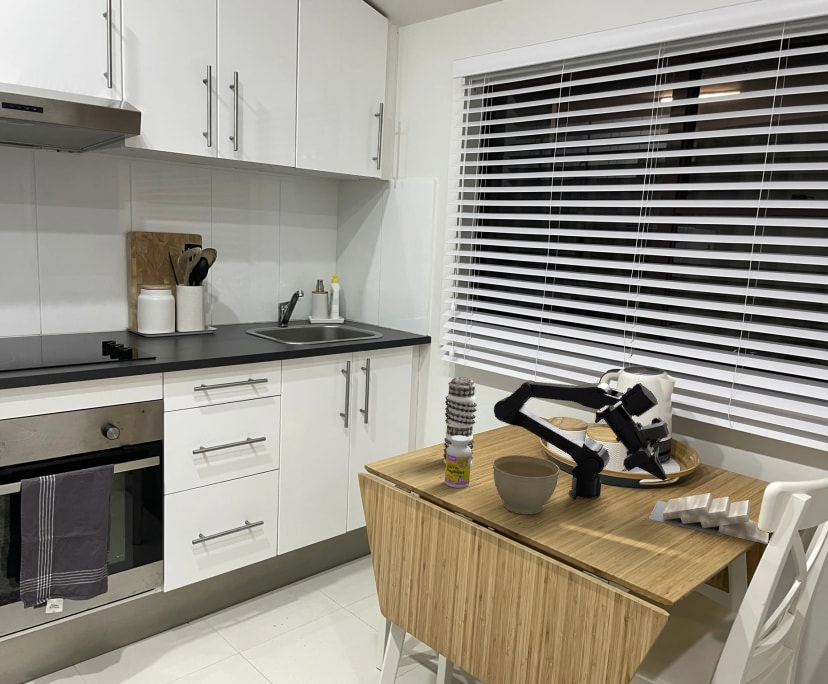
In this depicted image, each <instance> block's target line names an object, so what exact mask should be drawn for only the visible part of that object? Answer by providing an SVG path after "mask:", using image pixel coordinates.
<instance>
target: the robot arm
mask: <svg viewBox="0 0 828 684" xmlns="http://www.w3.org/2000/svg"><path fill="white" fill-rule="evenodd" d="M531 398H536V399H544V400H545V399H547V400H556V401H565V402H572V403H575V404H577V405H580V406H583V407H586V408H590V409H593V410H596V412H595V419H594V423H596V424H598V423H600V422H601V421H602V420H603V421H604V422H605V423H606V425H607V426H608V428H609V429H610V430H611V431H612V432H613V434H614V435H615V437H616V438H615V441H616V442H617V443H619V442H621V444H622V445H623V446H624V447H625V449H626V450H627V451H626V456H625V458H624V459H623V465H622V466H624V468H625V469H626V470H627V472H630V471H632V470H634V469H635V468H639V469H640V470H643V471H644V472H647V473H648V474H651V476H652V475H653V476H654V477H655V478H658V479H659V480H661V481H666V480H667V478H668V476H667V474H666V471H665V469H664V467H663V466H662V463H661V461H660V458H659V451H660V446H659V445H658V446H657V447H655V448H654V447H653V446H654V445H655V444H656V443H660V442H661V441H662V440H663V439H666V438H668V436H669V435H670V432H669V431H670V430H669V428H668V425H669V424H668V423H667V422H666V421H665V420H662V418H661V417H660V416H658V417H654V418H652V420H651V423H649V424H647V425H643V424H642V423H641V422H639V421H637V422H636V421H635V420H634V419H633V417H637V418H639V417H641V416H643V415H644V414H645V413H647V412H648V411H650V410H651V409H653V408H654V407H656V406H657V405H658V404H659V403H658V399H657V397H656V396H655V394H654V393H653V392H652V390H650V389H648V388H647V387H646V386H645V385H643V383H642V382H641V381H638V382H637V383H636V384H635V385H633V386H632V387H631V388H630V389H628V390H627V391H626V392H624V391H621V390H618V389H614V388H612V387H611V386H610V385H609V384H608V383H606V382H592V383H585V384H577V385H576V384H564V383H554V382H552V383H551V382H542V381H535V380H530V379H529V380H527V381H525V382H523V383H522V384H521V385H520V386H519V387H518V388H517V389H516V390H515V391H514V392H512V393H511V394H510V395H509V396H506V397H504V398H502V399H500V400H499V401H497V402H496V403H494V405H493V406H494V407H493V414H494V418H495V419H497V420H498V421H500V422H502V423H505V424H507V425H511V426H515V427H519V428H523V429H525V430H526V431H528V432H530V433H532V434H534V435H535V436H537V437H538V438H540V439H542V440H543V441H545V442H547V443H549V444H550V445H552V446H553V447H555V448H557V449H559V450H560V451H562V452H563V453H565V454H567V455H568V456H570V458H571V459H572V461H574V463H576V464H575V465H574V466H573V468H572V469H571V473H572V479H571V489H570V490H568V493H569V494H570V496H571V497H572V498H573V499H574V500H577V498H578V497H579V498H583V499H594V498H596V497H601V492H602V481H601V476H600V475H599V474H600V473H602V472H603V470H604V469H605V468H606V467H607V466H608V465H609V463H610V460H611V459H610V454H609V451H608V449H606V448H605V447H604V446H605V445H604V444H602V443H599V442H597V441H596V440H594V439H593V438H592V437H588V438H587V439H586V440H581V439H580V440H579V439H578V438H575V437H574V436H572V435H570V434H569V433H568V432H566V431H564V430H562V429H560V428H558V426H557V427H556V426H555V425H553V424H552V423H550V422H549V421H547V420H545V419H543V418H541V417H539V416H537V415H536V414H534V413H533V412H532V411H531V409H529V407H528V406H527V405H526V403H527V402H528V401H529V400H530V399H531ZM618 403H619V404H618ZM617 404H618V405H617ZM615 405H616V406H615ZM606 406H607V407H606ZM605 407H606V408H605ZM603 408H604V409H603ZM601 409H602V410H601Z"/></svg>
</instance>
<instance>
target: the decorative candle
mask: <svg viewBox="0 0 828 684" xmlns="http://www.w3.org/2000/svg"><path fill="white" fill-rule="evenodd" d="M476 386H477V384H476V383H475V382H474V381H473V379H472V378H469V377H464V376H463V377H462V376H458V377H454V378H452V379H451V381H449V382H448V393H447V395H446V396H445V401H444V404H445V406H446V407H445V413H444V415H445V418H446V419H445V421H444V422H445V424H446V432H445V438H444V442H445V443H443V445H444V449H443V455H442V456H443V463H444V464H445V465H446V453H447V448H448V447H449V446H450V445H452V443H451V437H452V436H457V435H460V436H465V437H468V438H469V443H468V447H469V448H470V449H471V451H472V453H471V465H472V464H473V461H472V460H473V459H474V457H473V454H474V451H473V448H474V443H475V442H474V439H473V438H474V434H473V428H474V426H475V424H476V421H475V420H474V419H475V418H476V415H475V414H474V413H476V412H477V409H476V407H477V406H478V404H477V403H476V402H475V401H476V395H475V392H476Z"/></svg>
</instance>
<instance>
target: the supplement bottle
mask: <svg viewBox="0 0 828 684" xmlns="http://www.w3.org/2000/svg"><path fill="white" fill-rule="evenodd" d="M451 443H452V445H450V446H449V447H448V448H447V453H446V464H445V473H444V484H446V485H447V486H448V487H451V488H456V489H462V488H466V487H468V486H469V485H470V482H471V480H470V479H471V470H472V469H471V465H472V464H471V453H472V451H473V450H472V451H471V449H470V448H469V447H468V443H469V438H468V437H465V436H460V435H457V436H452V437H451Z"/></svg>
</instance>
